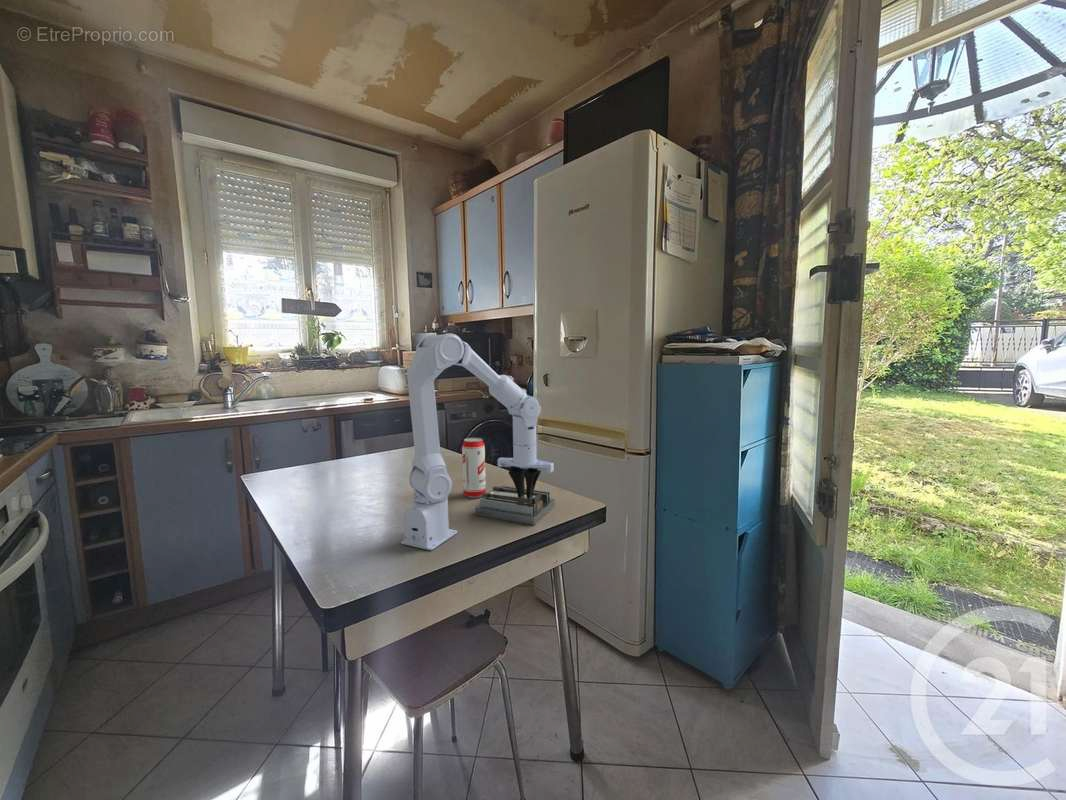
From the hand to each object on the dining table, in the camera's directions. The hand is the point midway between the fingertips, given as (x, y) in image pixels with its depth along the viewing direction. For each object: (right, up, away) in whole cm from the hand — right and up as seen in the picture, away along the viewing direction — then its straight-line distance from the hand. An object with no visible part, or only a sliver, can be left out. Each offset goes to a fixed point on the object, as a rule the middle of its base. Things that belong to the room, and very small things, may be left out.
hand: (525, 497), depth 107 cm
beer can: (-15, -3, +14) cm, 20 cm away
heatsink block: (-2, -4, +2) cm, 5 cm away
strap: (-4, -1, +2) cm, 4 cm away
